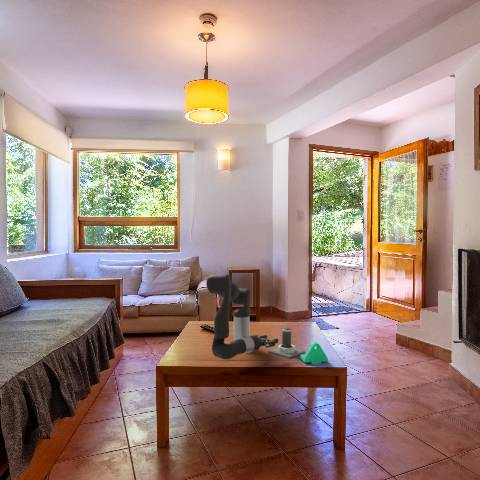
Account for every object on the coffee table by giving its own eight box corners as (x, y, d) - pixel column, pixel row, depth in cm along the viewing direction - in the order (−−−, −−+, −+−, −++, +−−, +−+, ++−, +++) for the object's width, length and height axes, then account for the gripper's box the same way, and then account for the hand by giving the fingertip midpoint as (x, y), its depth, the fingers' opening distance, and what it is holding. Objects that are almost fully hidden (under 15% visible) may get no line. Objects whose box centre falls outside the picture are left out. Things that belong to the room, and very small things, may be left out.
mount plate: (268, 352, 207) (268, 346, 206) (284, 347, 216) (284, 341, 216) (288, 358, 197) (288, 351, 196) (304, 352, 206) (304, 346, 206)
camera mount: (322, 358, 198) (322, 338, 198) (327, 363, 190) (327, 343, 190) (300, 359, 196) (300, 339, 196) (304, 364, 188) (305, 344, 188)
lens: (279, 350, 206) (280, 328, 206) (285, 348, 210) (286, 327, 210) (287, 352, 203) (287, 330, 203) (293, 350, 206) (293, 328, 206)
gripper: (258, 340, 183) (281, 334, 194) (239, 333, 194) (263, 329, 205) (258, 355, 183) (281, 349, 194) (239, 348, 194) (262, 342, 205)
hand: (272, 338), depth 199 cm, fingers open, 8 cm apart
